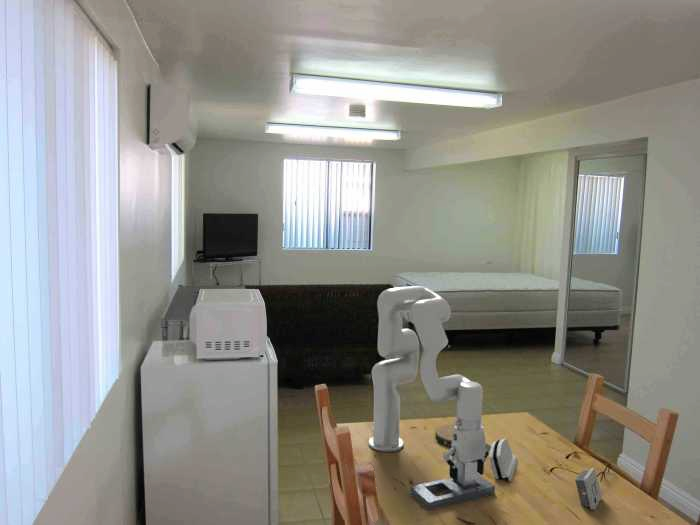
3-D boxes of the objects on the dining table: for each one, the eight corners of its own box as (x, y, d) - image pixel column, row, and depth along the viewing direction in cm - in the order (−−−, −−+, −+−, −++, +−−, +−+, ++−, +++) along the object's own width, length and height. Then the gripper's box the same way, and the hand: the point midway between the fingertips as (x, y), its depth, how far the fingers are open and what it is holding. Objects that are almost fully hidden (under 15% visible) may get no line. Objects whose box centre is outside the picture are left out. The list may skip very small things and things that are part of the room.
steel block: (455, 488, 176) (456, 458, 174) (467, 486, 177) (468, 455, 176) (464, 495, 171) (465, 464, 170) (476, 492, 173) (477, 461, 172)
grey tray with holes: (410, 494, 172) (410, 486, 171) (474, 479, 182) (474, 471, 182) (428, 510, 163) (428, 502, 162) (494, 493, 173) (494, 486, 173)
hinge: (510, 481, 180) (501, 451, 181) (496, 483, 182) (487, 453, 183) (517, 460, 196) (509, 432, 196) (504, 462, 198) (495, 434, 198)
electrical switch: (593, 511, 164) (592, 480, 163) (575, 507, 167) (574, 476, 167) (602, 498, 171) (600, 468, 171) (584, 494, 174) (583, 465, 174)
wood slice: (446, 428, 224) (446, 420, 223) (484, 438, 214) (484, 430, 214) (427, 441, 211) (427, 433, 210) (467, 453, 202) (467, 445, 201)
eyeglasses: (595, 490, 177) (596, 478, 176) (546, 473, 187) (547, 462, 187) (612, 472, 189) (613, 461, 188) (566, 457, 199) (566, 446, 199)
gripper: (452, 431, 165) (450, 487, 167) (499, 422, 172) (496, 475, 174) (438, 422, 172) (436, 475, 174) (483, 414, 179) (481, 465, 181)
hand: (466, 475), depth 174 cm, fingers open, 9 cm apart
